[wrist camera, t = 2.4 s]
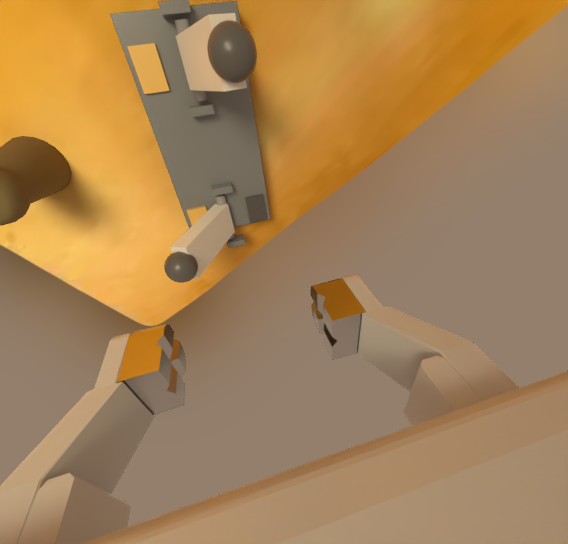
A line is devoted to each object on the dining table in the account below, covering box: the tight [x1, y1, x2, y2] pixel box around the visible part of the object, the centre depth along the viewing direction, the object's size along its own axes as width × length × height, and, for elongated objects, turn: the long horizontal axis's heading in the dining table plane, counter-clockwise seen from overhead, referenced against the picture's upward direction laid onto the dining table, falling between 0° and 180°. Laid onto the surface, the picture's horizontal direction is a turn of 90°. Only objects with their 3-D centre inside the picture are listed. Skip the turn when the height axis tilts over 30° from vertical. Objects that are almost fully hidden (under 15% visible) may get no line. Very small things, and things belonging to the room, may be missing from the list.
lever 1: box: [175, 13, 257, 102], centre depth 21 cm, size 3×6×13 cm, turn 7°
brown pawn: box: [0, 136, 71, 225], centre depth 26 cm, size 6×6×11 cm
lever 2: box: [164, 194, 235, 282], centre depth 31 cm, size 3×6×13 cm
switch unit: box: [110, 0, 270, 248], centre depth 31 cm, size 11×24×5 cm, turn 7°
